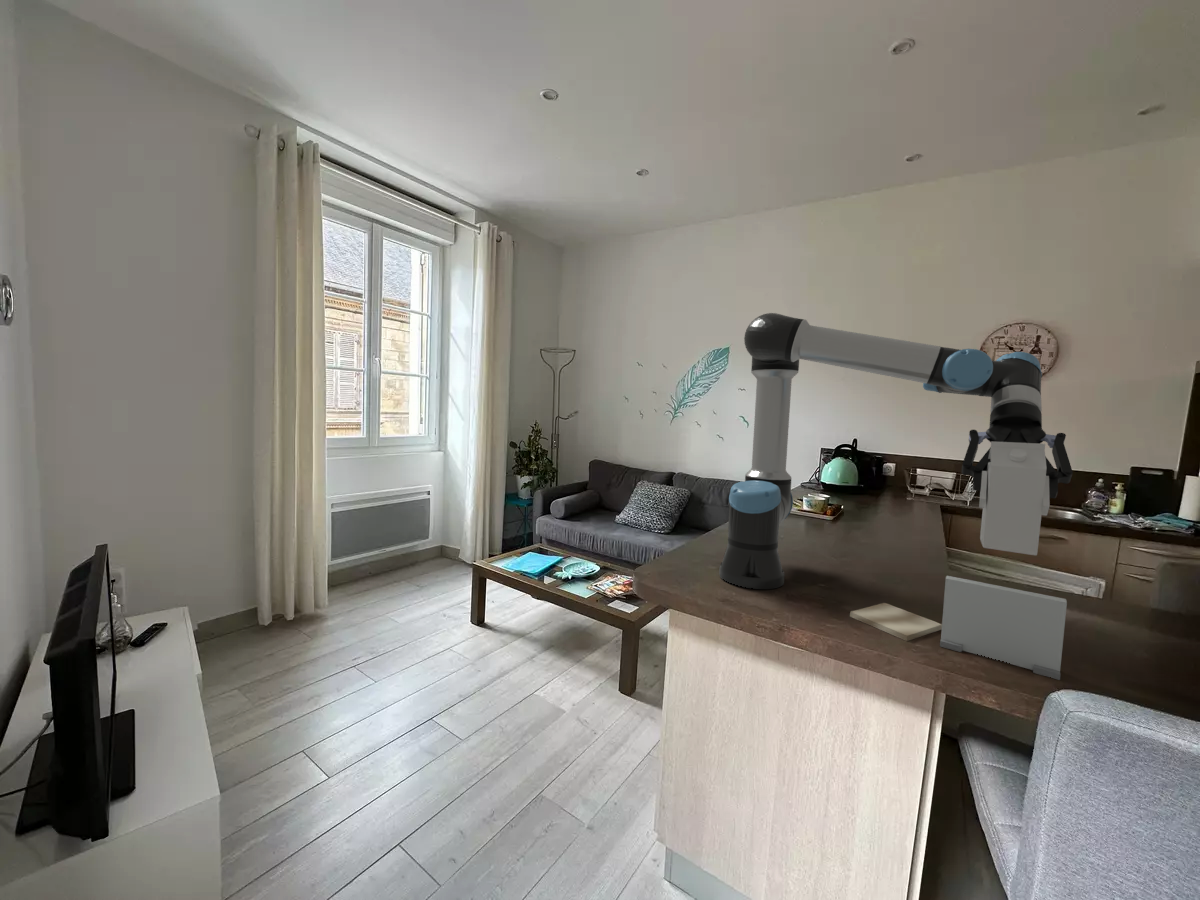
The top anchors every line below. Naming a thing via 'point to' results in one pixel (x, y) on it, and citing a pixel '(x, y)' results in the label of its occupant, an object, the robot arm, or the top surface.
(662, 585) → the top surface
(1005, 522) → the milk carton
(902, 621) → the birch board
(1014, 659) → the grey screen
